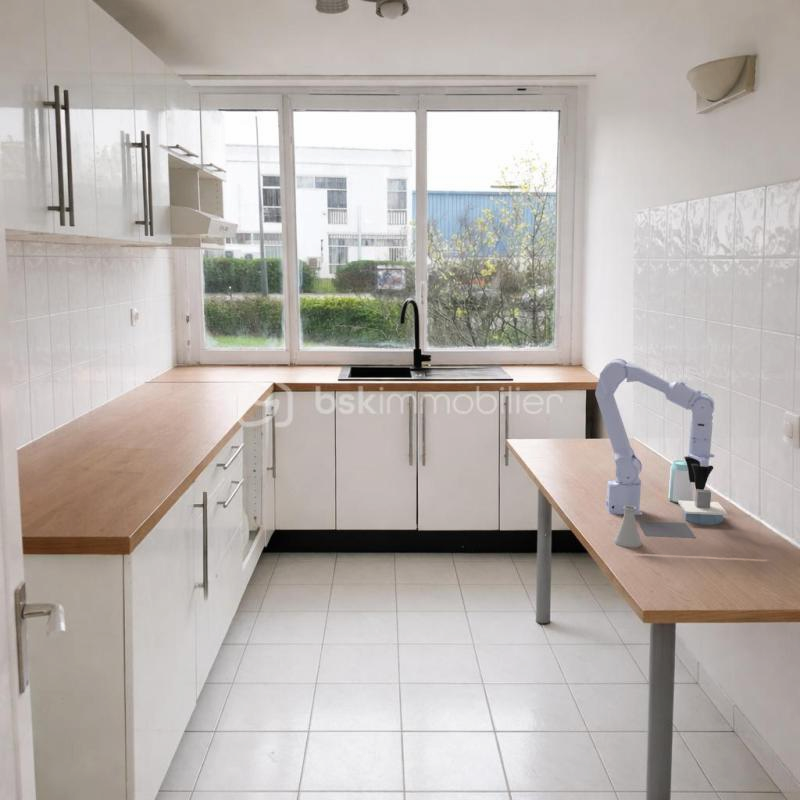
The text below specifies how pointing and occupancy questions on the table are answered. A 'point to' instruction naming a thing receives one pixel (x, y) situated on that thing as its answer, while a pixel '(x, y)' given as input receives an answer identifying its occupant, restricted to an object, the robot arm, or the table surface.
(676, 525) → the mat
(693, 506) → the lid
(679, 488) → the can
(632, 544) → the flask
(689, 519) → the bowl
